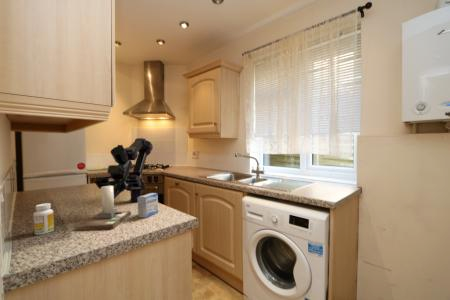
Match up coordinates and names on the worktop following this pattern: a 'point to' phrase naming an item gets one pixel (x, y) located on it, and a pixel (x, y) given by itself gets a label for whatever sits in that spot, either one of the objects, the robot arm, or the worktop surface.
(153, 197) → the medicine box
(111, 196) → the white tall cylinder
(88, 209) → the worktop surface
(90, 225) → the base
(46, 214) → the supplement bottle
